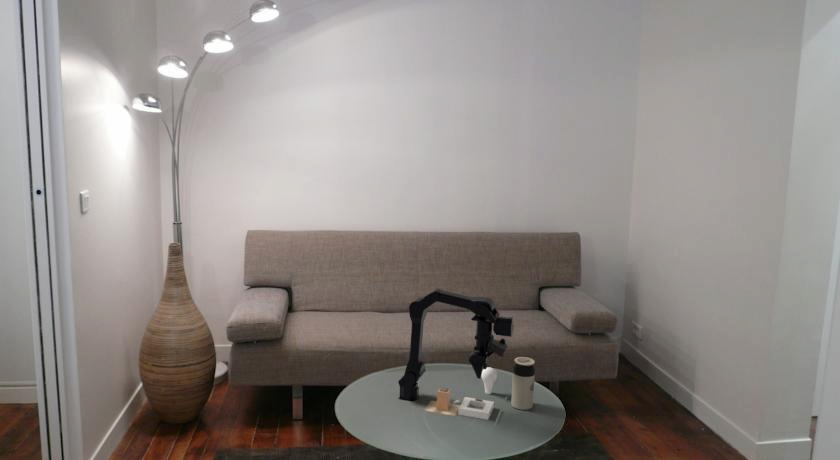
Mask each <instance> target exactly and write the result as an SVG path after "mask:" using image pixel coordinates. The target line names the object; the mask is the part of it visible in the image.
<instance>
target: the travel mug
mask: <svg viewBox="0 0 840 460" xmlns="http://www.w3.org/2000/svg"><path fill="white" fill-rule="evenodd" d="M514 362H515V364H514V366H513V368H512V369H513V370H512V385H511V386H512V387H511V400H510V401H511V403H510V405H511V406H512V407H513V408H515V409H518V410H520V411H521V410H523V411H526V410H530V409H532V408H533V405H534V404H533V403H534V391H535V389H534V387H535V375H536V373H535V371H536V369H535V367H534V365H535V362H536V361H535V360H534V359H533V358H531V357H528V356H527V357H526V356H519V357H515V358H514Z"/></svg>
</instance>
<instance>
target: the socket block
mask: <svg viewBox="0 0 840 460" xmlns="http://www.w3.org/2000/svg"><path fill="white" fill-rule="evenodd" d="M459 405H460V407H459V410H458V413H457V415H459V416H465V417H469V418H470V417H471V418H477V419H482V420H486V421H488V420H489V419H490V416H491V415H492V412H493V410H494V408H495V407H494V406H495V401H492V400H485V399H483V398H479V397H474V398H473V397H469V396H468V397H467V396H464V398H463V400H462V401H461V403H460V404H459Z"/></svg>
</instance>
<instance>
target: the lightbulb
mask: <svg viewBox="0 0 840 460" xmlns="http://www.w3.org/2000/svg"><path fill="white" fill-rule="evenodd" d="M497 378H498V373H497V371H496V369H495V368H492V367H491V366H490V367H488V366H487V368H486V369H483V370H482V374H481V379H482V382H483V385H484V393H485V394H487V395H491V394H492V392H493V391H492V390H493V386H494V383H495V381H496V380H497Z"/></svg>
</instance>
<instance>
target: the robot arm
mask: <svg viewBox="0 0 840 460" xmlns="http://www.w3.org/2000/svg"><path fill="white" fill-rule="evenodd" d="M435 303H442V304H446V305H450V306H453V307H458V308H463V309H466V310H468V311H470V312H471V313H473V314H474V315H473V316H472V317H471V318H470V319H471V321H473V322H476V326H475V327H476V329H475V335H474V340H475V344H474V345H475V346H474V347H473V350H474V351H472V352H471V354H470V355H469V356H468V362H469V364H470V365H471V366H472V369H473V371H474V373H475V377H476V378H477V379H480V380H481V379H482V377H481V374H482V371H483V370H484V369H486V368H487V367H488V364H489V360H490V358H491V355H493V354H495V355H498V357H501V358H502V357H503V356H504V355H505V353H506V351H507V349H508V344H507V342H506V341H507V340H506V339H505V338H504V337H509V338H511V337H513V336H514V335H513V334H514V331H515V330H514V329H515V328H514V327H515V326H514V318H513V317H511V316H510V317H509V316H508V317H506V316H500V315H501V314H500V313H499V311H498V310H497V308H496V307H495V305H496V304H495V302H494V300H493V299H492V298H491V297H485V296H483V297H482V296H467V295H463V294H460V293H459V294H458V293H456V292H451V291H447V290H442V289H441V288H435V289H433V291H431V292H430V293H428V294H426V295H425V296H424V297H420V296H419V297H417V298H416V299H414V300H413V301H412V302H411V303H410V304H409V305H408V312H409V318H410V321H411V332H410V345H409V347H410V349H409V359H408V362H407V364H406V367H405V371H404V374H403V375H402V376H401V378H399V380H398V382H397V383H398V386H399V397H398V398H397V399H398V400H400V401H406V402H413V403H414V402H415V401H416V400H417V399H419V395H420V387H419V380H420V379H421V378H422V376H423V375H424V373H425V372H426V365H427V361H423V358H422V350H423V349H422V348H423V335H424V325H425V324H424V323H425V319H426V317H427V314H428V310H429V308H430V307H431V306H432V305H434V304H435ZM493 333H494V334H495V335H496V336H501V337H502V338H500V339H497V340H496V339H495V338H494V337H495V336H494V334H493Z"/></svg>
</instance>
